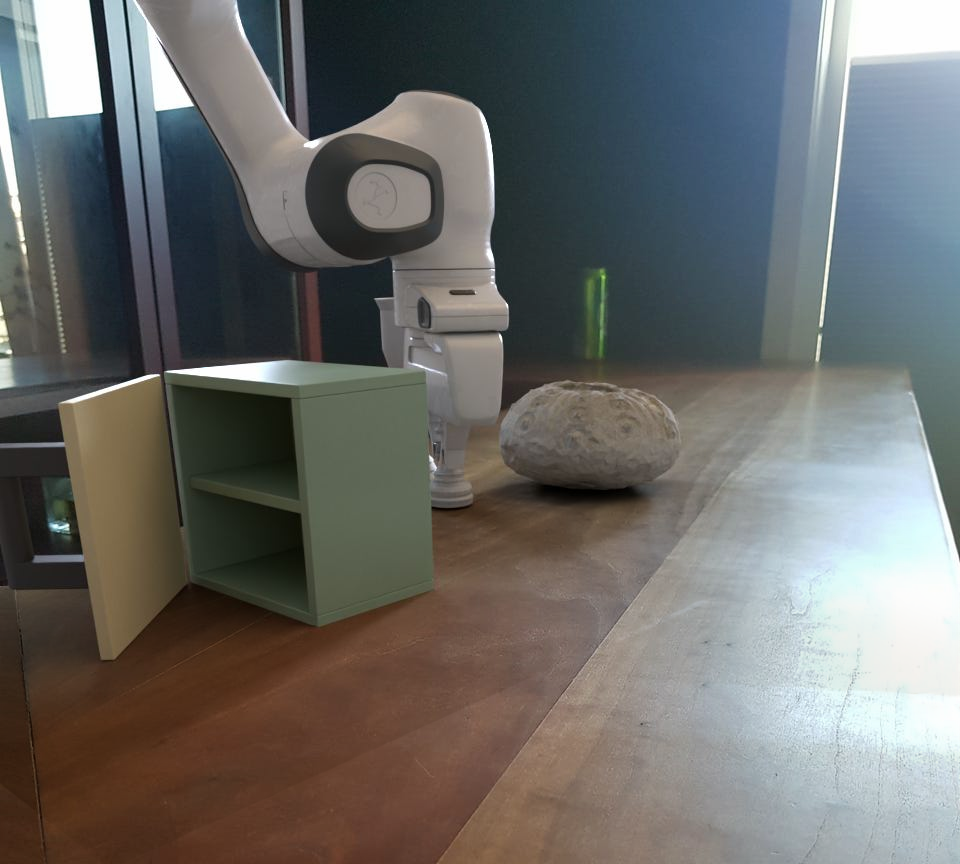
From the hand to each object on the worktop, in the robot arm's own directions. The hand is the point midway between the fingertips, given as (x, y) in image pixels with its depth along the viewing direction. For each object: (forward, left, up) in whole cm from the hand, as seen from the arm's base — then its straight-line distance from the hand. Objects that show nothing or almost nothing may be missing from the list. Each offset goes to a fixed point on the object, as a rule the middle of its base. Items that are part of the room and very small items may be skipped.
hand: (448, 464), depth 90 cm
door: (-29, -24, -4) cm, 38 cm away
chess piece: (0, 0, -4) cm, 4 cm away
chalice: (0, +14, -4) cm, 15 cm away
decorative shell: (+15, +3, -4) cm, 16 cm away
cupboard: (-16, -21, -4) cm, 27 cm away
